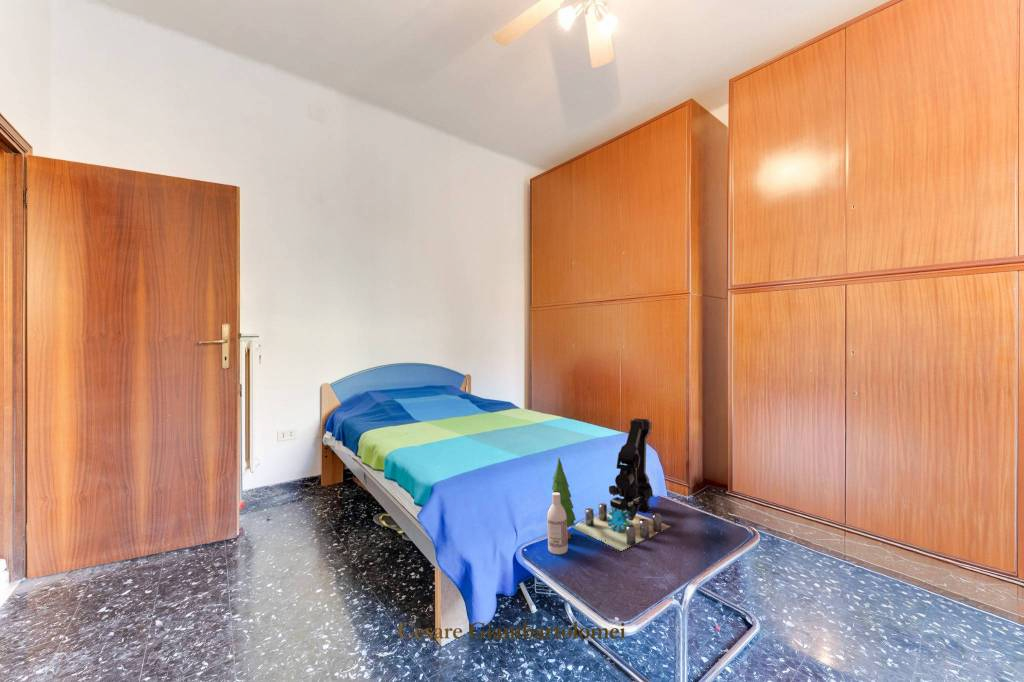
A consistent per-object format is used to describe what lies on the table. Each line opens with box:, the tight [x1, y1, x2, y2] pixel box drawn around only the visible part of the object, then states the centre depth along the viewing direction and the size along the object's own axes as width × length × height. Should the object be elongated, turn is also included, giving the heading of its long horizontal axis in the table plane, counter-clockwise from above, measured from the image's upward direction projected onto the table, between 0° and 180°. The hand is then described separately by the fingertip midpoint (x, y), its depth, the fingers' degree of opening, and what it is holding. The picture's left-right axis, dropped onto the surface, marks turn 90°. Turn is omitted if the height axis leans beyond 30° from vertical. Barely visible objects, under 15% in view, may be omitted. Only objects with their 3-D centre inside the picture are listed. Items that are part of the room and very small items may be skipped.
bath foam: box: [546, 491, 569, 555], centre depth 141 cm, size 7×7×20 cm
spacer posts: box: [584, 502, 663, 547], centre depth 155 cm, size 19×23×6 cm
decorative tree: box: [551, 457, 577, 540], centre depth 151 cm, size 10×9×30 cm
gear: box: [607, 508, 633, 532], centre depth 155 cm, size 11×6×10 cm
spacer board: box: [571, 510, 671, 552], centre depth 156 cm, size 30×24×1 cm
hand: (631, 520), depth 159 cm, fingers closed
